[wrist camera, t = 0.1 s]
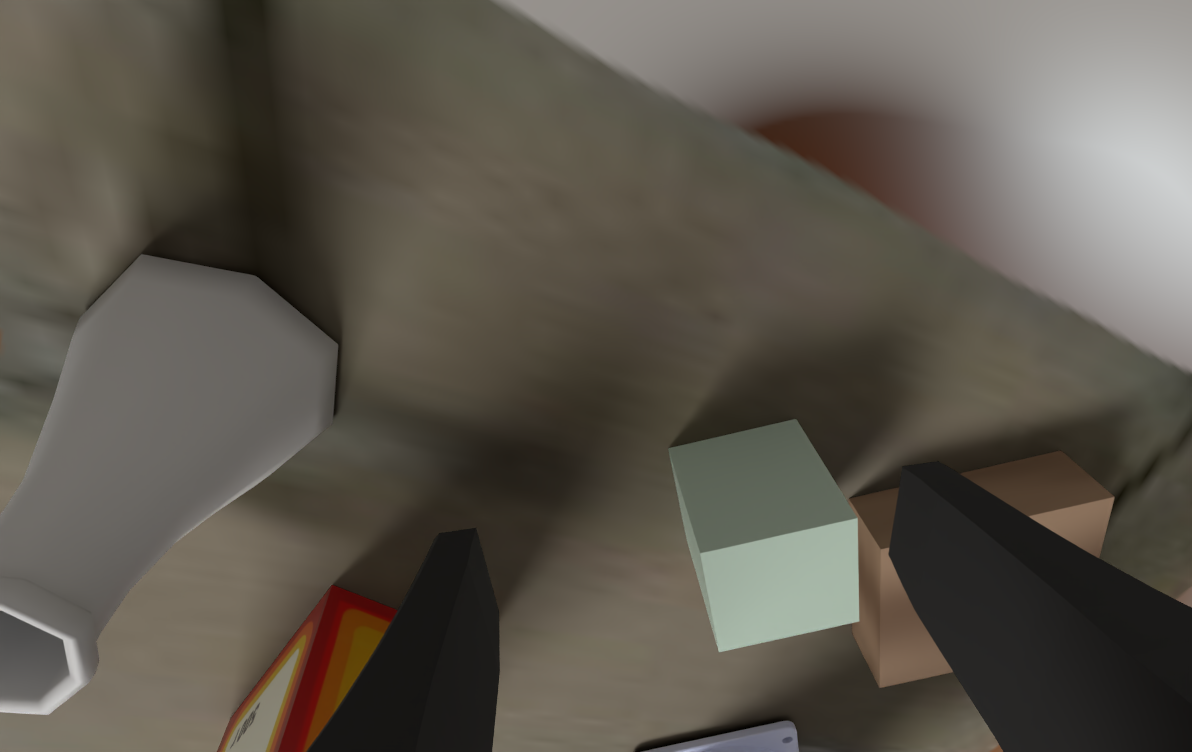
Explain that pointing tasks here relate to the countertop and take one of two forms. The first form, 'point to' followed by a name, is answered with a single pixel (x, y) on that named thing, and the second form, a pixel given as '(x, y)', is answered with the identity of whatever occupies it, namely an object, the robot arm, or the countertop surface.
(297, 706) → the baking soda box
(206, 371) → the flask
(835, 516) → the sage block
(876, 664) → the walnut block
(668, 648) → the countertop surface
